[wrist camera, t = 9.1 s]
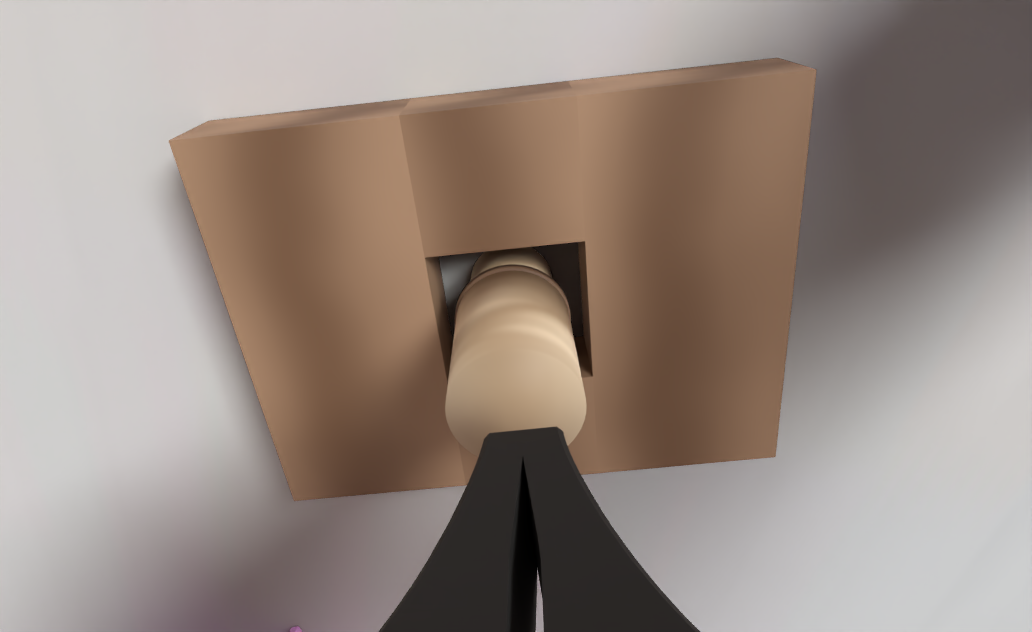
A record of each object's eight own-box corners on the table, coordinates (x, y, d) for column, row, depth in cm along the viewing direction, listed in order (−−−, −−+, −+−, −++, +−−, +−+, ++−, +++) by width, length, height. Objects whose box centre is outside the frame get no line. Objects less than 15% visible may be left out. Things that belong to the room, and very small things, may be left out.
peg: (560, 228, 20) (586, 342, 14) (564, 322, 22) (589, 461, 15) (454, 236, 20) (433, 353, 14) (465, 329, 22) (451, 471, 16)
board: (777, 57, 18) (816, 69, 16) (749, 411, 23) (775, 456, 21) (208, 120, 18) (168, 140, 16) (313, 452, 24) (294, 501, 22)
